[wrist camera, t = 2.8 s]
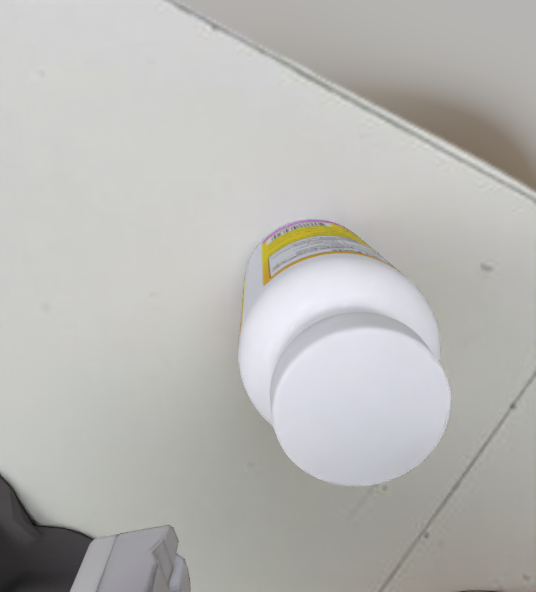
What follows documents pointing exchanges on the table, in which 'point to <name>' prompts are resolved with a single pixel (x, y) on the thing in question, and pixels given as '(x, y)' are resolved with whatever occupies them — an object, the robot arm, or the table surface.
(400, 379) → the supplement bottle
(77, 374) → the table surface
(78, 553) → the cloth
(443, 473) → the table surface
